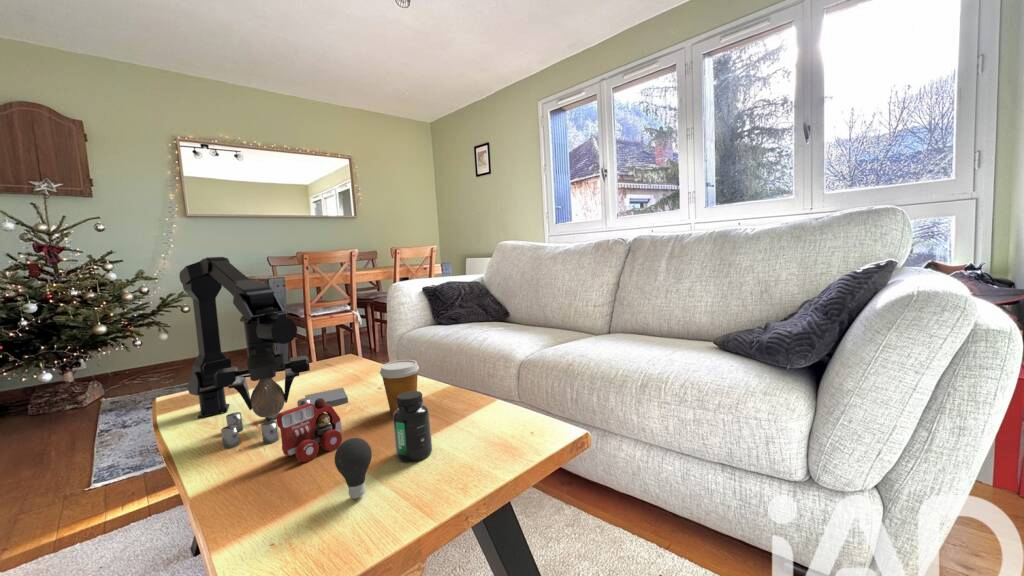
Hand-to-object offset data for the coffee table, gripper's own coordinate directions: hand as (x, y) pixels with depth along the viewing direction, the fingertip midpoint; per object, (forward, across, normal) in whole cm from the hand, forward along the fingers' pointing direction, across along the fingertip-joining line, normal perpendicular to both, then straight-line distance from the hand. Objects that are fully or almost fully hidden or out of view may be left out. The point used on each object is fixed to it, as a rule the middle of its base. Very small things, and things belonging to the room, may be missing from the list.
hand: (268, 405), depth 97 cm
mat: (+6, +13, +12) cm, 19 cm away
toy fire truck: (+6, +8, -19) cm, 21 cm away
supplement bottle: (+6, +25, -33) cm, 42 cm away
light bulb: (+6, +13, -42) cm, 44 cm away
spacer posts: (+6, 0, 0) cm, 6 cm away
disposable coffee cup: (+6, +29, -9) cm, 31 cm away
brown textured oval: (+2, 0, 0) cm, 2 cm away
